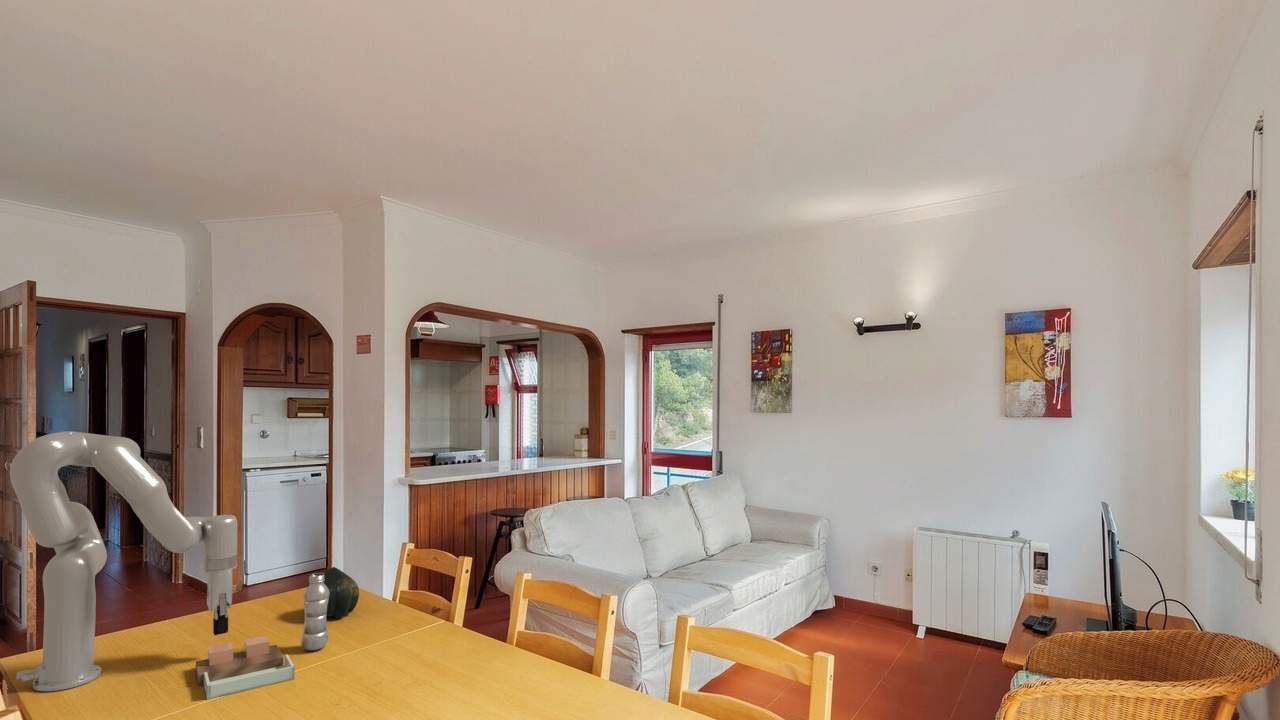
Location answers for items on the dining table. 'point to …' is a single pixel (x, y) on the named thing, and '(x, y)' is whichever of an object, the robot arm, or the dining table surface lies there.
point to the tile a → (220, 653)
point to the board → (239, 665)
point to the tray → (249, 680)
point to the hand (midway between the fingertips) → (220, 632)
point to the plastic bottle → (315, 613)
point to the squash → (340, 593)
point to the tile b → (256, 646)
